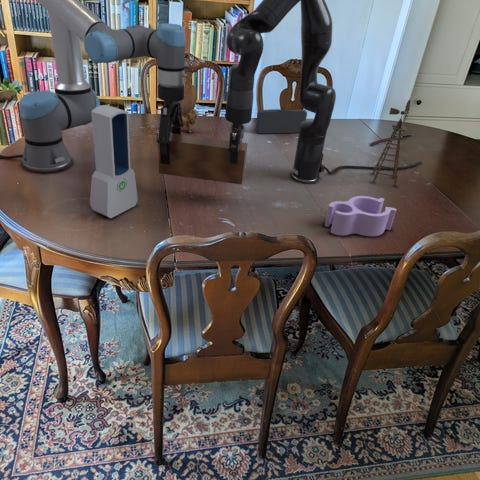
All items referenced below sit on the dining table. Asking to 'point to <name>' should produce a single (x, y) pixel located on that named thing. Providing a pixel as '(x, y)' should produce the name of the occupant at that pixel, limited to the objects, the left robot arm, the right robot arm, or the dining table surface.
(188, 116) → the lion figurine
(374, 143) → the sword
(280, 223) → the dining table surface
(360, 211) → the clip
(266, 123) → the handheld gaming console
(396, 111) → the miniature windmill
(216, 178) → the box
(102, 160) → the electronic device
